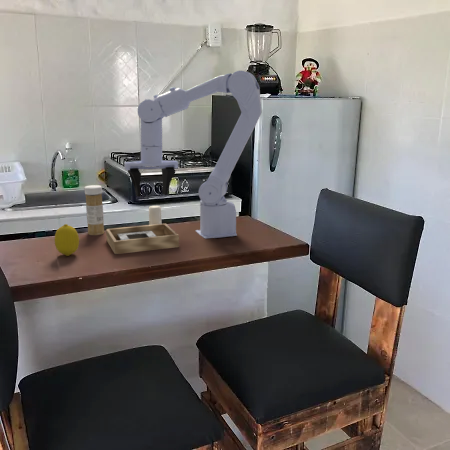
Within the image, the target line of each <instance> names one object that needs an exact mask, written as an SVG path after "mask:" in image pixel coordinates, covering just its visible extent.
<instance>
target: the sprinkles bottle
mask: <svg viewBox="0 0 450 450" xmlns="http://www.w3.org/2000/svg"><path fill="white" fill-rule="evenodd" d="M84 194H85V203H86V204H85V209H86V220H87V221H86V222H87V234H88V235H89V236H100V235H103V234H105V233H106V231H105V225H104V221H105V220H104V219H105V218H104V217H105V216H104V207H103V205H104V204H103V196H102V195H103V188H102V185H99V184H95V185H94V184H91V185H86V186H84Z"/></svg>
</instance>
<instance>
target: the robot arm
mask: <svg viewBox="0 0 450 450" xmlns="http://www.w3.org/2000/svg"><path fill="white" fill-rule="evenodd" d="M260 89H261V87H260V85H259V83H258V81H257V79H256V77H255V76H254V74H252V73H251V72H249V71H246V70H236V71H234V72H233V73H226V74H221V75H218V76H216V77H214V78H211V79H208V80H207V81H204V82H202V83H200V84H197V85H195V86H193V87H191V88H188V89H184V88H181V87H177V88H176V87H175V86H174V87H170V88H169V91H166V92H165V93H162V94H160V95H159V94H155V95H153V99H150V98H145V99H144V100H143V101H142V102H140V103H139V105H138V107H137V115H138V118H140V160H134V161H124V162H123V165H124V166H123V168H124V170H125V171H127V172H128V174H129V177H130V180H131V181H132V184H133V187H134V191H135V196H137V197H140V198H141V178H142V172H140V170H159V169H161V177H162V188H161V189H162V195H165V196H167V195H168V193H169V192H168V191H169V188H170V185H171V182H172V180H173V178H174V177H175V174H176V169H179V161H177V160H163V118H164V117H165V118H167V117H170V116H173V115H174V114H178V113H181V112H182V111H185V110H187V109H188V108H189V106H190V104H191V102H194V101H197V100H200V99H202V98H205V97H208V96H210V95H213V94H217V93H223V94H224V93H225V94H231V96H233V98H234V99H235V100H236V101H237V104H238V107H239V109H240V112H241V113H240V115H239V117H238V119H237V122H236V124H235V125H234V127H233V128H232V132H231V134H230V136H229V138H228V139H227V141H226V143H225V146H224V148H223V150H222V152H221V154H220V156H219V158H218V160H217V162H216V164H215V166H214V168H213V169H212V171H211V173H210V174H209V176H208V178H207V180H205V181H204V182H203V183H202V184H200V186H199V187H198V197H199V199H200V200H199V212H200V214H199V220H200V222H199V223H200V225H199V226H200V229H196V230H195V232H196V234H198V235H199V236H201V238H203V239H213V238H214V239H217V238H227V237H235V236H238V234H237V209H236V206H235V204H234V202H232V201H227V199H226V197H225V195H226V193H227V192H228V183H229V180H230V178H231V174H232V172H233V171H234V169H235V167H236V164H237V163H238V161H239V159H240V156H241V155H242V152H243V151H244V149H245V146H247V145H246V144H247V143H248V140H249V139H250V137H251V135H252V133H253V131H254V129H255V127H256V125H257V124H258V122H259V120H260V117H261V115H262V102H261V90H260Z"/></svg>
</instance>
